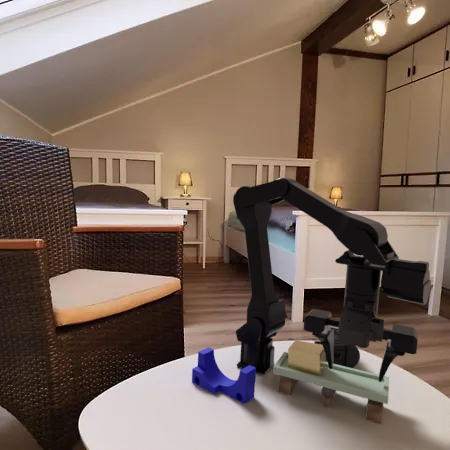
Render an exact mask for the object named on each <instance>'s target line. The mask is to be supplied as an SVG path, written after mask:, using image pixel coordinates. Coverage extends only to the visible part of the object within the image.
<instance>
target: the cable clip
mask: <svg viewBox="0 0 450 450" xmlns="http://www.w3.org/2000/svg"><path fill="white" fill-rule="evenodd" d="M197 355H198V356H197V366H194V367H193V368H192V372H191V383H192V384H194V385H196V386H198V387H200V388H202V389H204V390H205V391H207V392H210V393H211V394H213V395H215V394H216V395H217V394H218V393H219V392H220V393H222V394H223V395H226V396H228V397H230V398H231V399H234V400H235V401H237V402H239V403H241V404H244V405H246V404H247V403H249V402H250V401H252V400H253V399H254V398H255V391H256V389H255V388H256V375H257V373H256V368H255V367H253V366H251V365H249V366H247V367H245V368H244V369H243V368H241V369H240V370H239V372H238V373H239V374H238V378H237V380H236V379H231V378H229V377H227V376H226V375H225V374H224V373H223V371H221V369H220V367H219V366H218V364H217V361H216V358H215V350H214V349H213V348H211V347H206V348H204V349H201V350H199V351H198V352H197Z"/></svg>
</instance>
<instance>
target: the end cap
mask: <svg viewBox="0 0 450 450" xmlns="http://www.w3.org/2000/svg"><path fill="white" fill-rule="evenodd" d="M338 332H339V330H335V329H334V361H333V364H337V365H341V366H345V367H349V368H353V369H355V367H356V366H358V364H359V362H360V359H361V352H360V351H359V349H358V348H359V347H358V346H355V345H351V344H342V343H340V342H339V340H338ZM313 343H315V344H321V345H322V343H321V341H320V340H314V342H313ZM326 362H327V358H326Z"/></svg>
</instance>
